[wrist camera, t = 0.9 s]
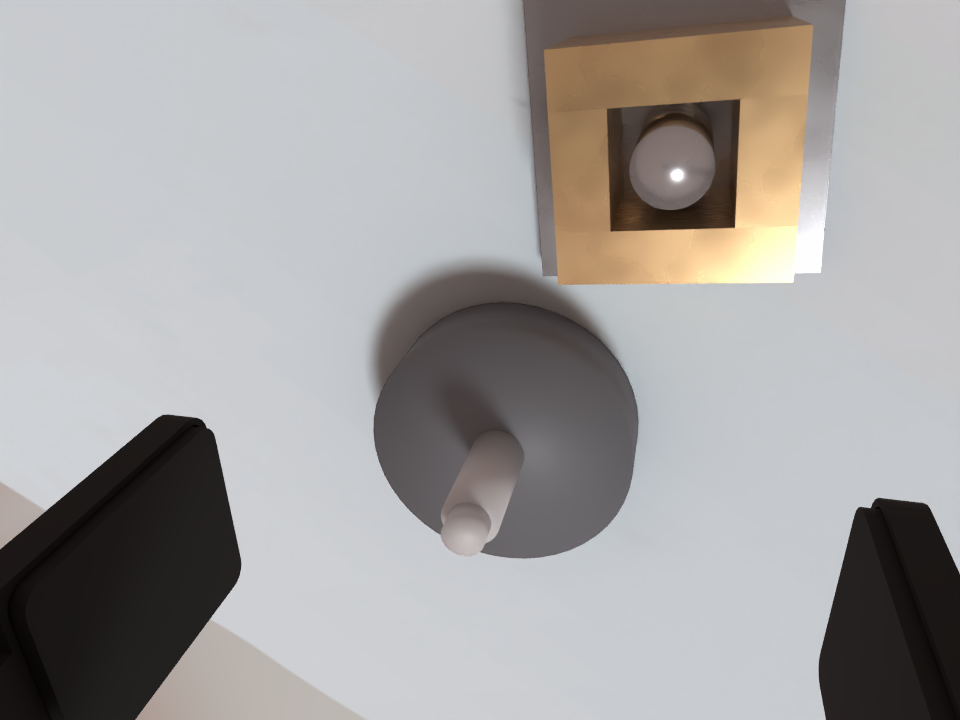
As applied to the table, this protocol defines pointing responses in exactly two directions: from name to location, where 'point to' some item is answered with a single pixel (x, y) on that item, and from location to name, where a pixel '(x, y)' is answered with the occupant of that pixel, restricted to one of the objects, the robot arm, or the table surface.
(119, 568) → the robot arm
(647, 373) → the table surface
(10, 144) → the table surface
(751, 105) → the collar
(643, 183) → the stand
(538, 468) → the hub
